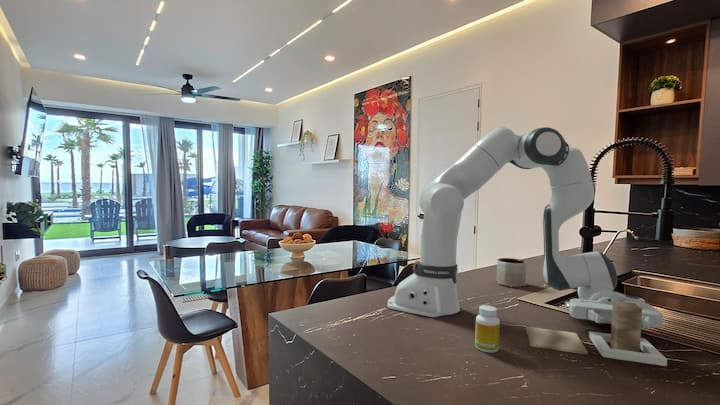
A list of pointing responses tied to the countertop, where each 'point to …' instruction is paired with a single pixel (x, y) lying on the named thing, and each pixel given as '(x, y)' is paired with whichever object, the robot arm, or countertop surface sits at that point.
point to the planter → (511, 272)
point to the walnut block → (626, 326)
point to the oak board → (555, 340)
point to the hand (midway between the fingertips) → (623, 323)
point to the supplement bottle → (487, 329)
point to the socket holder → (648, 356)
